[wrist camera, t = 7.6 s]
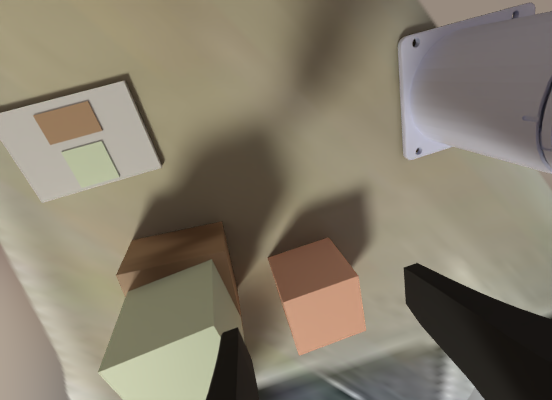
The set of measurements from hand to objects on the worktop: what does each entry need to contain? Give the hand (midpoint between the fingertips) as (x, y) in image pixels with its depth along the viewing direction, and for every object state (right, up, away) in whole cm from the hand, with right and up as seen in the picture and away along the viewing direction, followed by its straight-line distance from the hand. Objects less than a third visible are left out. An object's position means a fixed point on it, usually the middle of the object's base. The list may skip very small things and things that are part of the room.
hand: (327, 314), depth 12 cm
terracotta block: (0, -1, +12) cm, 12 cm away
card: (-13, +8, +5) cm, 16 cm away
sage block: (-7, -2, +6) cm, 10 cm away
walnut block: (-8, 0, +9) cm, 13 cm away
